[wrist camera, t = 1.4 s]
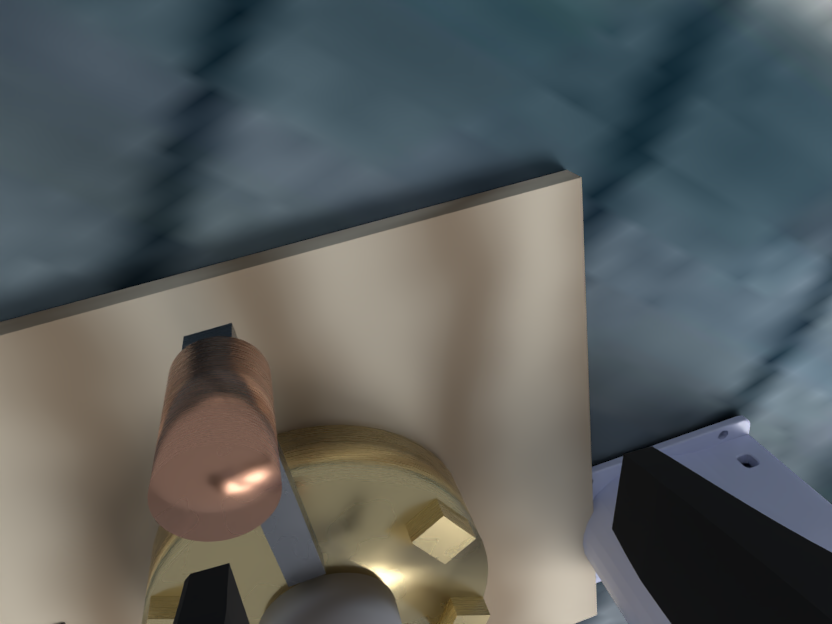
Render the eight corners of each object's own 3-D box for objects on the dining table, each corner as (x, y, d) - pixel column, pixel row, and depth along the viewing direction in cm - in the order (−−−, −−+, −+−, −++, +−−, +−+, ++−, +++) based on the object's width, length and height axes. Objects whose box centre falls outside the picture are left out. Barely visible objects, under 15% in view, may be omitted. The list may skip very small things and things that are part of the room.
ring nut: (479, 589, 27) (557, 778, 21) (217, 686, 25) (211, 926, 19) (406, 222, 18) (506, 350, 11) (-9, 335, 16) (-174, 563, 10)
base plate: (566, 169, 20) (683, 229, 15) (587, 598, 32) (655, 714, 27) (-234, 385, 17) (-448, 561, 11) (126, 775, 29) (102, 948, 23)
